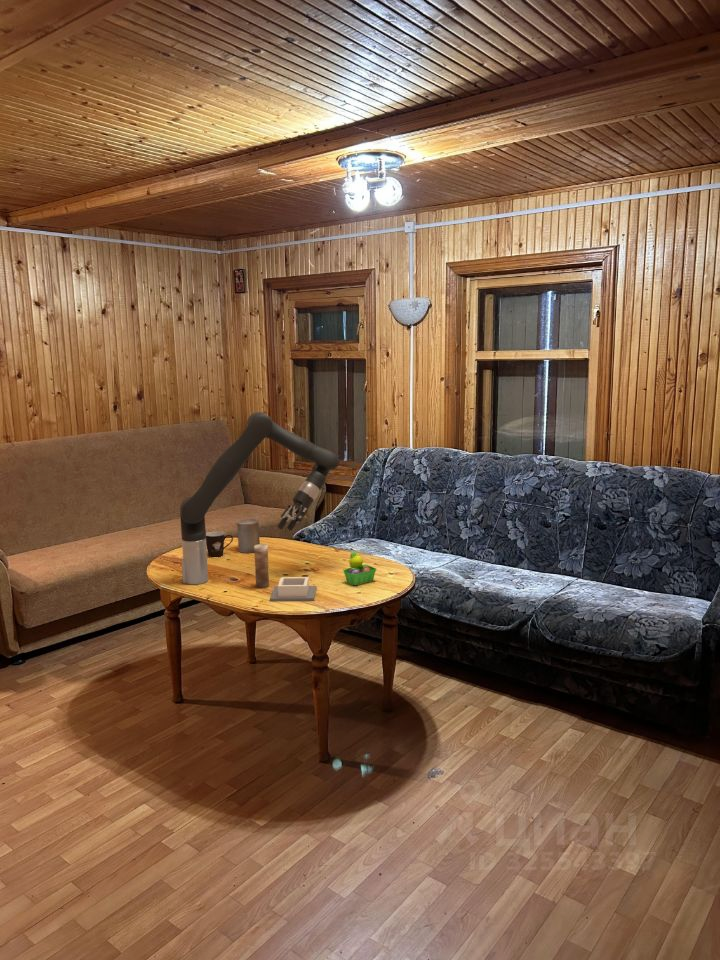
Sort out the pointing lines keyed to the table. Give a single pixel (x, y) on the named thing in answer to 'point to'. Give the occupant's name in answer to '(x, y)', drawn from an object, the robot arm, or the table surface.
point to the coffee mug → (216, 543)
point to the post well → (293, 590)
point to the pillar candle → (248, 535)
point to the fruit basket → (358, 571)
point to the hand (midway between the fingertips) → (283, 528)
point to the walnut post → (261, 566)
